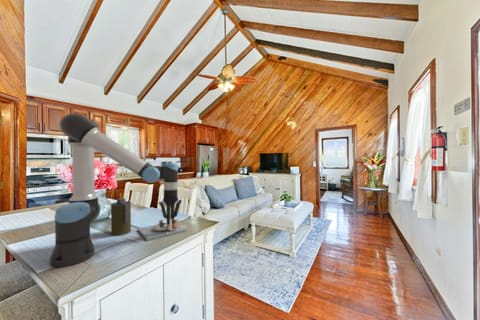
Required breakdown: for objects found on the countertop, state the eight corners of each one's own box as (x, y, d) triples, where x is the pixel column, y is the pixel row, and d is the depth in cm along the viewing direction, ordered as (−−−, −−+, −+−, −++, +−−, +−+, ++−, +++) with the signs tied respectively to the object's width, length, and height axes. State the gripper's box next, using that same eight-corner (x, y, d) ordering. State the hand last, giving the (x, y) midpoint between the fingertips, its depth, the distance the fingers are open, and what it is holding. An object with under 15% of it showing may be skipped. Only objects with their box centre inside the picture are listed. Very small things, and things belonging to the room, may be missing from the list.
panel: (147, 241, 105) (147, 238, 105) (138, 230, 120) (138, 228, 120) (189, 230, 120) (189, 228, 120) (176, 222, 135) (176, 220, 135)
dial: (149, 230, 116) (149, 220, 116) (159, 225, 125) (159, 215, 125) (172, 232, 112) (172, 222, 112) (181, 227, 122) (181, 217, 122)
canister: (106, 233, 115) (106, 199, 115) (124, 228, 124) (124, 196, 124) (118, 237, 110) (117, 201, 110) (135, 231, 119) (135, 198, 119)
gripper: (161, 190, 108) (161, 233, 108) (183, 189, 116) (183, 229, 116) (157, 189, 114) (156, 230, 114) (178, 187, 122) (177, 225, 122)
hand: (170, 229), depth 115 cm, fingers closed
